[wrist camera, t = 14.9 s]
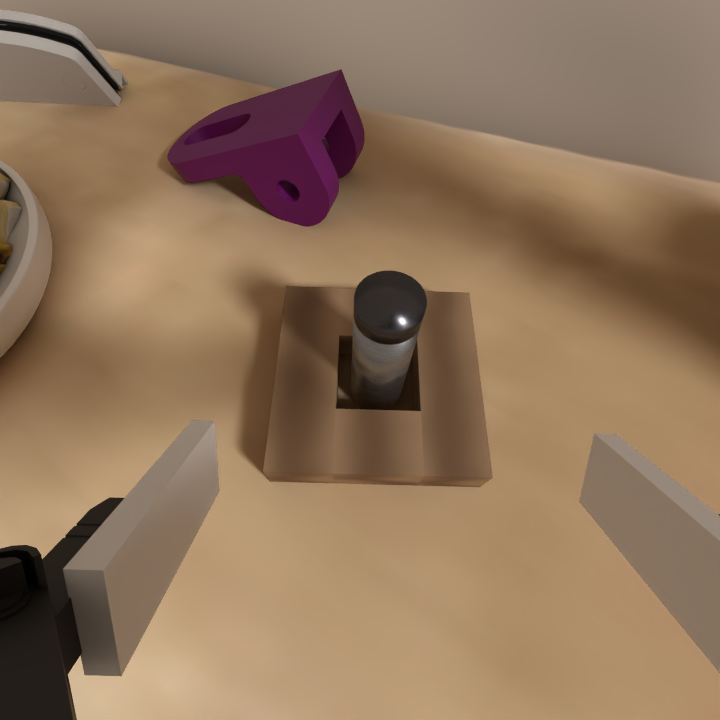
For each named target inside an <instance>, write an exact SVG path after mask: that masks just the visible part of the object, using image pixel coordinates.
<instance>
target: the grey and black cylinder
mask: <svg viewBox="0 0 720 720" xmlns="http://www.w3.org/2000/svg"><path fill="white" fill-rule="evenodd" d="M426 307H427V297H426V294H425V291H424V289H423V288H422V286H421V285H420V284H419V283H418V282H417V281H416V280H415V279H413V278H412V277H410V276H408V275H406V274H404V273H401V272H396V271H380V272H376V273H373V274H371V275H369V276H367V277H366V278H364V279H363V280H362V281H361V282H360V283H359V285H358V286H357V288H356V291H355V294H354V313H353V341H352V370H351V394H352V397H353V399H354V401H355V402H356V403H357V404H358V405H359V406H360V407H361V408H363V409H365V410H389V409H390V408H392V407H393V406H394V405H395V404H396V403H397V402H398V400H399V398H400V395H401V391H402V388H403V385H404V381H405V378H406V375H407V371H408V368H409V365H410V361H411V358H412V354H413V351H414V348H415V344H416V341H417V338H418V334H419V331H420V328H421V324H422V321H423V318H424V314H425V311H426Z"/></svg>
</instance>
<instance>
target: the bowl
mask: <svg viewBox="0 0 720 720" xmlns="http://www.w3.org/2000/svg"><path fill="white" fill-rule="evenodd" d="M51 264H52V238H51V231H50V227H49V224H48V220H47V217H46V215H45V212H44V210H43V208H42V206H41V204H40V202H39V200H38V198H37V197H36V195H35V194H34V192H33V191H32V190H31V188H30V187H29V186H28V185H27V183H26V182H25V181H24V180H23V178H22V177H21V176H20V175H19V174H18V173H17V172H16V171H15V170H14V169H13V168H11V167H10V166H9V165H8V164H6V163H5V162H3V161H2V160H0V358H1V357H2V356H3V355H4V354H5V353H6V352H7V350H8V349H9V348H10V347H11V346H12V345H13V344H14V342H15V341H16V340H17V339H18V337H19V336H20V335H21V333H22V332H23V331H24V329H25V328H26V326H27V325H28V323H29V322H30V320H31V318H32V317H33V315H34V313H35V311H36V310H37V308H38V306H39V304H40V301H41V299H42V297H43V295H44V292H45V289H46V286H47V283H48V280H49V275H50V271H51Z"/></svg>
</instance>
